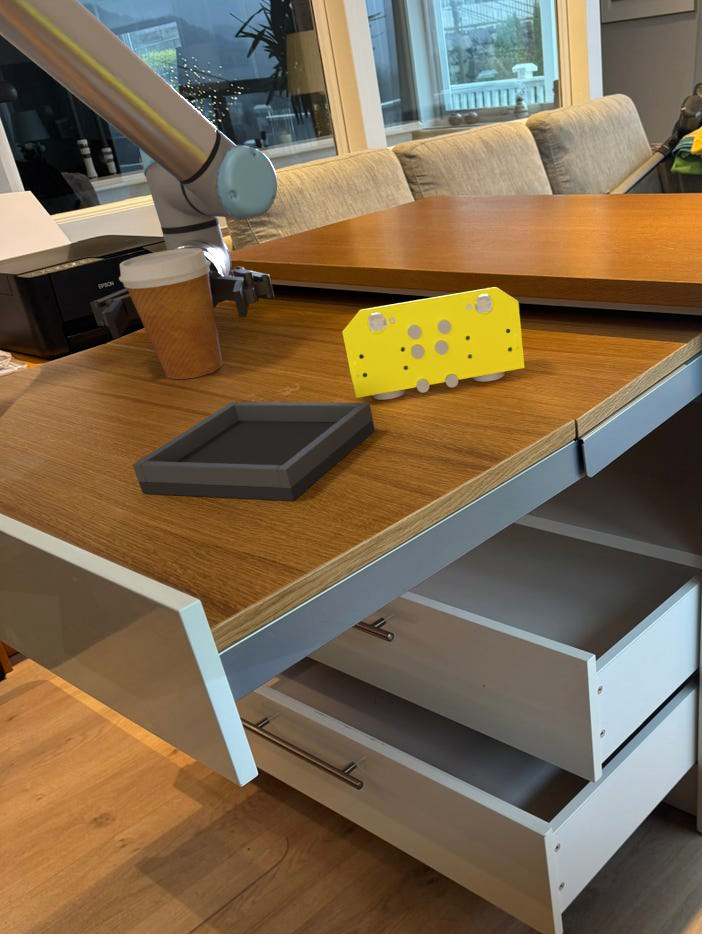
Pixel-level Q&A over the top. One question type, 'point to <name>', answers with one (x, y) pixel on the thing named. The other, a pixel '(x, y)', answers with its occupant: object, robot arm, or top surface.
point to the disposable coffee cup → (176, 309)
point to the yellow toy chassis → (433, 342)
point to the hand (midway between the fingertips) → (176, 315)
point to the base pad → (256, 450)
